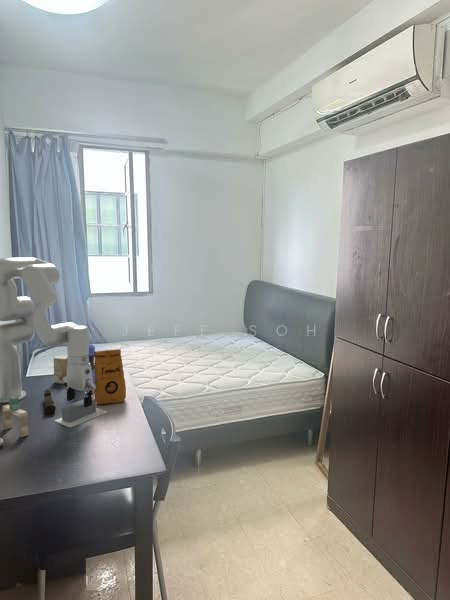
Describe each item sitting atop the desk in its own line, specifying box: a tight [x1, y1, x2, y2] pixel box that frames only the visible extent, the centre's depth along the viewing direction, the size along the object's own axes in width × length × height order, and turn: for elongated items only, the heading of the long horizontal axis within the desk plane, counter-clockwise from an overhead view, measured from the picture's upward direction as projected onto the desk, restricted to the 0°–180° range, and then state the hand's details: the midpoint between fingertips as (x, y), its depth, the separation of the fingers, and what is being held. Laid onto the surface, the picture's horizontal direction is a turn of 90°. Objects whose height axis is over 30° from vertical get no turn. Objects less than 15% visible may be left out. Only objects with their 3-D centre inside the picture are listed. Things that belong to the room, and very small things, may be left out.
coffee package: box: [93, 348, 127, 406], centre depth 167 cm, size 10×12×22 cm
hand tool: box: [43, 389, 56, 416], centre depth 162 cm, size 19×4×5 cm, turn 24°
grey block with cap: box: [61, 398, 98, 423], centre depth 152 cm, size 4×13×5 cm, turn 148°
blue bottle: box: [75, 343, 96, 392], centre depth 183 cm, size 9×9×25 cm
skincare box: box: [53, 355, 68, 385], centre depth 191 cm, size 6×4×12 cm
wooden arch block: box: [1, 396, 29, 438], centre depth 139 cm, size 12×2×12 cm, turn 58°
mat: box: [54, 407, 107, 428], centre depth 152 cm, size 9×16×1 cm, turn 148°
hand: (79, 403), depth 152 cm, fingers open, 9 cm apart
